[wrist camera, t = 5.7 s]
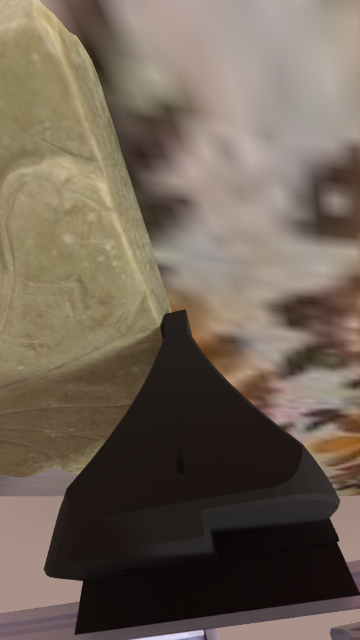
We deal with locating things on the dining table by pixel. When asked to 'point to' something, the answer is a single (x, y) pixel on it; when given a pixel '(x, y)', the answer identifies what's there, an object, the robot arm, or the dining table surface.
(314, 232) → the dining table surface
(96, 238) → the decorative tile
